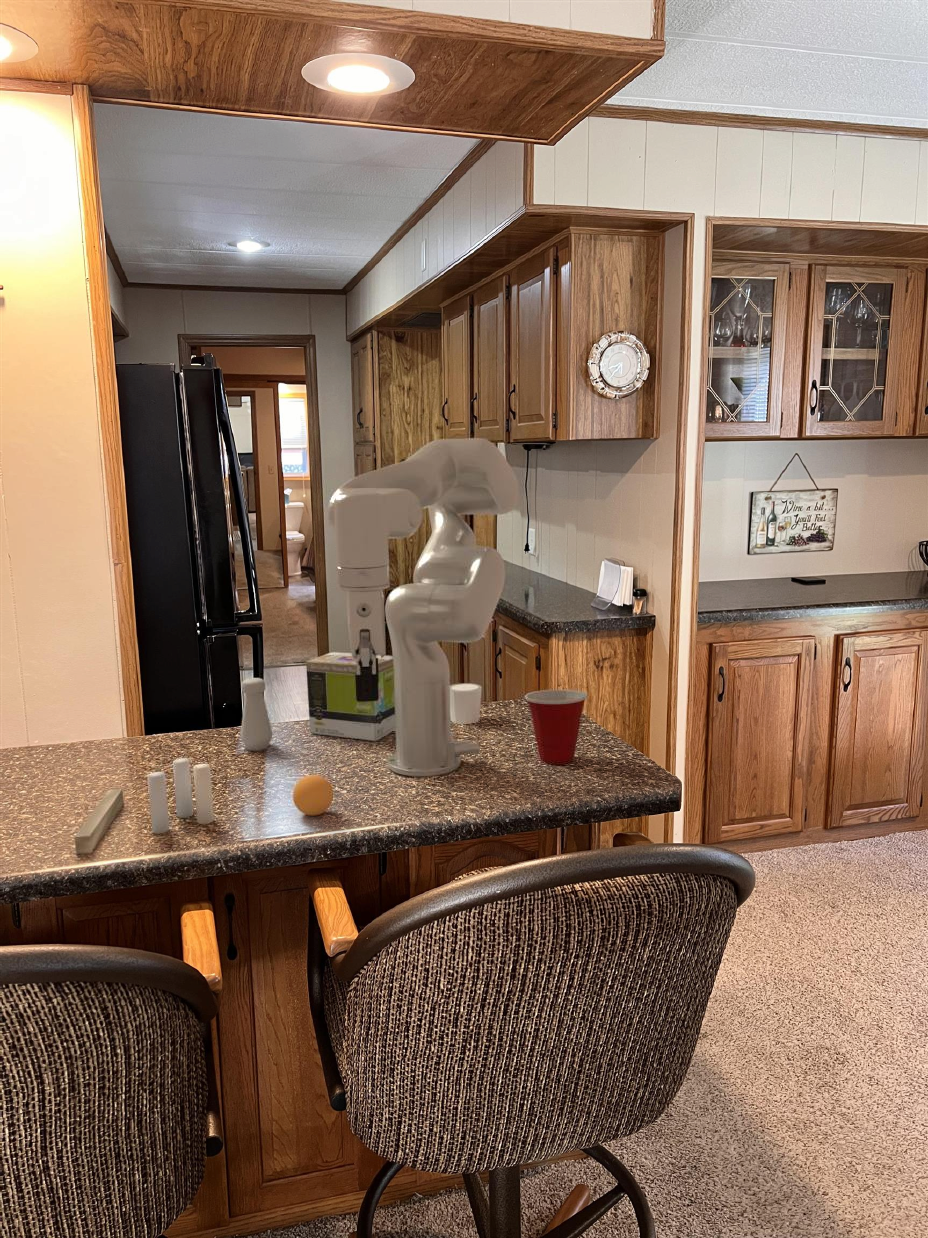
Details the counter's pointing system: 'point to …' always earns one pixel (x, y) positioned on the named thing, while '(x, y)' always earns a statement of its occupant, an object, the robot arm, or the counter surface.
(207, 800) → the front pin
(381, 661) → the tea box
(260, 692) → the salt shaker
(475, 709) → the white cylinder
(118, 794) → the back rail
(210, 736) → the counter surface
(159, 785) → the pin
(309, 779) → the ball
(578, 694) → the plastic cup
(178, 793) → the pin
